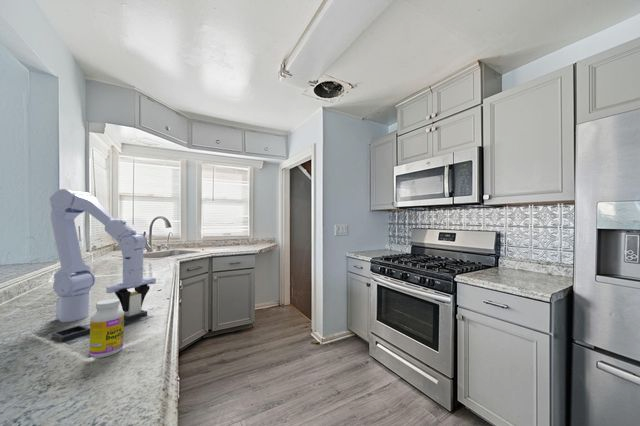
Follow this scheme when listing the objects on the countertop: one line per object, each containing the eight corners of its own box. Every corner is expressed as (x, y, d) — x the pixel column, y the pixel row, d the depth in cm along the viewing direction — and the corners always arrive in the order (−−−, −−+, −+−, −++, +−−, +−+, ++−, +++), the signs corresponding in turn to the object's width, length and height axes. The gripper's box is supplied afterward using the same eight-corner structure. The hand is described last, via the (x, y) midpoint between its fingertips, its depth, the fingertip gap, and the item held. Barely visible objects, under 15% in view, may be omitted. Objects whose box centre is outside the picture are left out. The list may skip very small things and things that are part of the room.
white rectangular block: (123, 315, 87) (123, 293, 88) (134, 312, 91) (135, 290, 91) (129, 317, 86) (129, 294, 86) (141, 314, 89) (141, 291, 89)
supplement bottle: (104, 360, 62) (105, 306, 62) (82, 357, 63) (83, 304, 63) (129, 347, 68) (130, 298, 69) (109, 344, 69) (110, 296, 70)
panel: (45, 337, 74) (45, 330, 74) (130, 312, 94) (130, 307, 94) (68, 347, 68) (68, 340, 68) (154, 318, 88) (154, 312, 88)
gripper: (115, 274, 80) (114, 318, 80) (161, 266, 94) (160, 304, 93) (103, 272, 84) (102, 314, 83) (149, 265, 97) (148, 302, 96)
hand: (132, 309), depth 88 cm, fingers closed on white rectangular block, 4 cm apart
